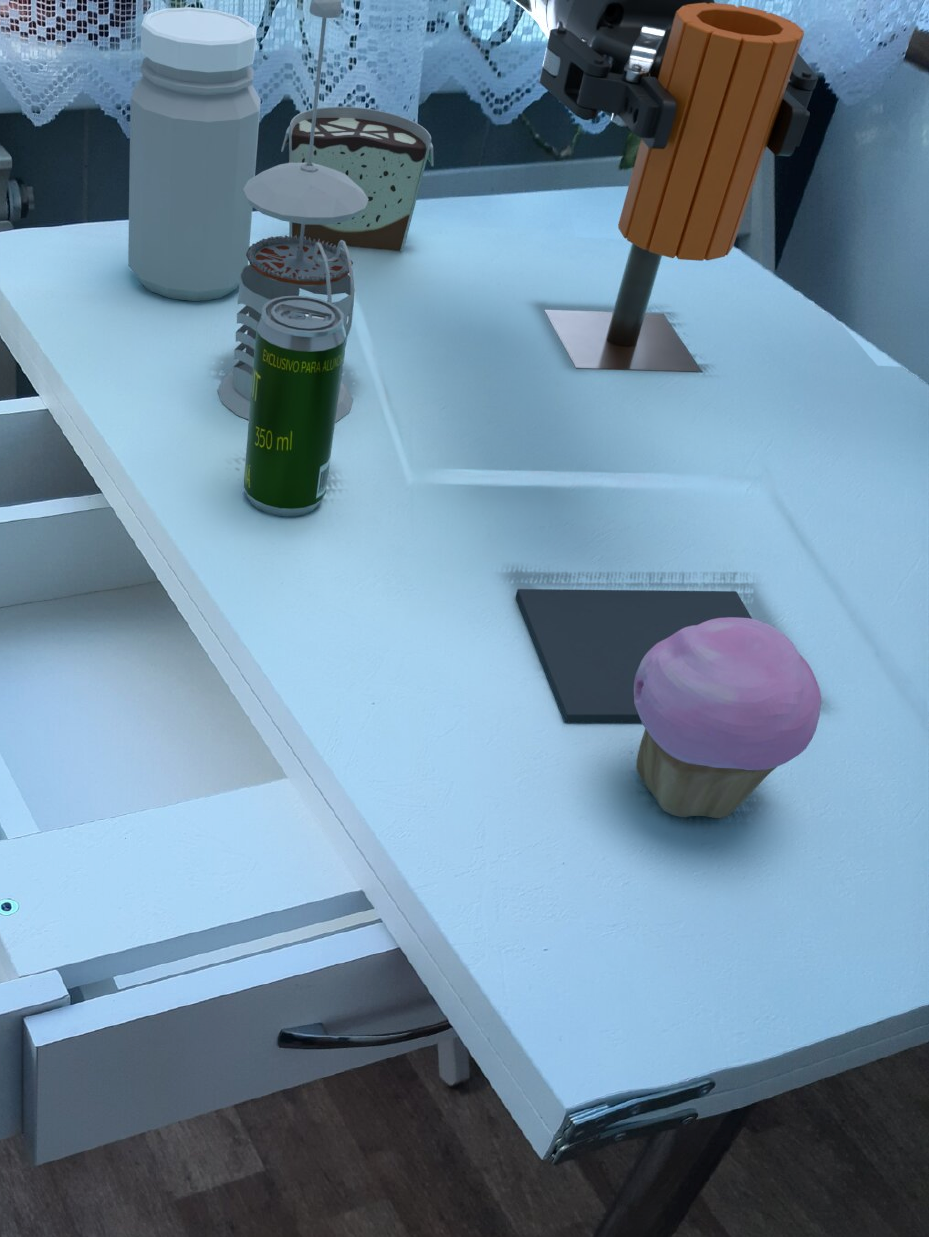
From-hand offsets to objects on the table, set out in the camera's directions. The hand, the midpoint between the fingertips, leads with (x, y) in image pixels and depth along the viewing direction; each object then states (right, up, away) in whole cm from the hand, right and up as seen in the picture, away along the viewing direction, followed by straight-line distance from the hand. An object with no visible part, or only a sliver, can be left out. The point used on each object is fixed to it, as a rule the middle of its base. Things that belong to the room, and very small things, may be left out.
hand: (729, 131), depth 68 cm
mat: (0, -23, +13) cm, 27 cm away
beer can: (-21, -11, +23) cm, 33 cm away
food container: (-15, +19, +51) cm, 57 cm away
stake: (+5, +5, +41) cm, 42 cm away
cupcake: (-1, -32, +5) cm, 33 cm away
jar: (-28, +13, +44) cm, 54 cm away
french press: (-20, -2, +32) cm, 38 cm away
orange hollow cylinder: (-1, -2, +6) cm, 6 cm away
